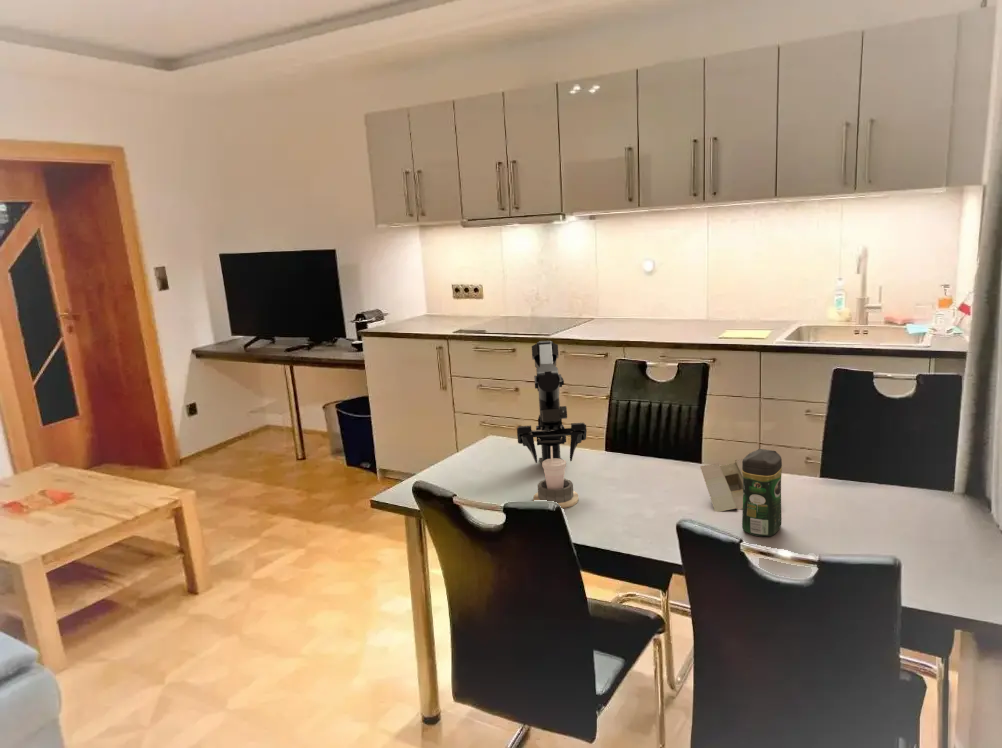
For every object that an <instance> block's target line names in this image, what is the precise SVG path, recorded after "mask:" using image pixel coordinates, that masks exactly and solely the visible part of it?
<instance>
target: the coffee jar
mask: <svg viewBox="0 0 1002 748" xmlns="http://www.w3.org/2000/svg"><path fill="white" fill-rule="evenodd" d="M742 459H743V461H742V474H743V509H742V515H741V516H742V517H741V518H742V519H741V522H742V523H741V524H742V525H741V527H742V530H743V532H746V533H748V534H749V535H752V536H756V537H772V536H774V535H776V533H778V532H779V530H780V528H781V527H782V473H783V472H782V471H783V470H782V469H783V463H782V456H781V455H780V454H779V453H778V452H777V451H776V450H774V449H773V450H772V449H771V450H770V449H764V448H758V449H756V450H754V451H752V452H749V453H748V454H747V455H746V456H745V457H744V458H742Z"/></svg>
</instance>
